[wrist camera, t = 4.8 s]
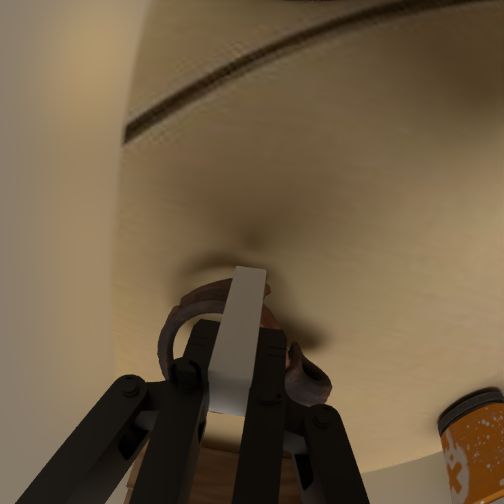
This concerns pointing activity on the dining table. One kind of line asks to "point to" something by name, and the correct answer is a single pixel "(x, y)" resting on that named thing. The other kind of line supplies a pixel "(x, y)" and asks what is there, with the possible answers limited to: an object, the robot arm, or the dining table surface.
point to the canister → (475, 449)
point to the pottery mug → (214, 300)
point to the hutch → (222, 478)
